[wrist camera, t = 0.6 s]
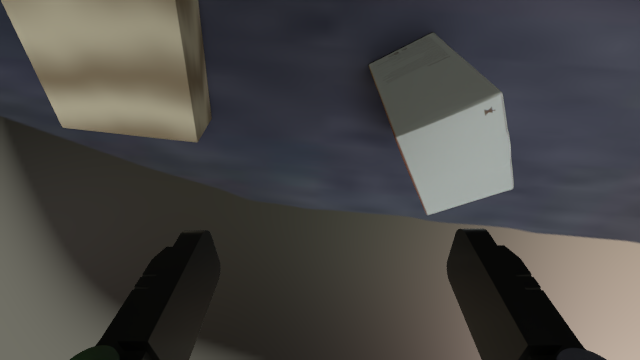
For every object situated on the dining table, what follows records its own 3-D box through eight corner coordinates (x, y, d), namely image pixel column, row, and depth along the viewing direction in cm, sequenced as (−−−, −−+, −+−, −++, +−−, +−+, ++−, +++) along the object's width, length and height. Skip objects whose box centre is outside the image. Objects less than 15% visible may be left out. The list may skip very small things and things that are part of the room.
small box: (366, 63, 28) (393, 136, 18) (434, 30, 26) (506, 89, 16) (393, 130, 32) (426, 218, 22) (452, 106, 30) (517, 189, 20)
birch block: (40, -39, 23) (-16, -34, 19) (197, -15, 24) (174, -5, 20) (94, 103, 31) (62, 127, 27) (212, 117, 32) (197, 142, 28)
